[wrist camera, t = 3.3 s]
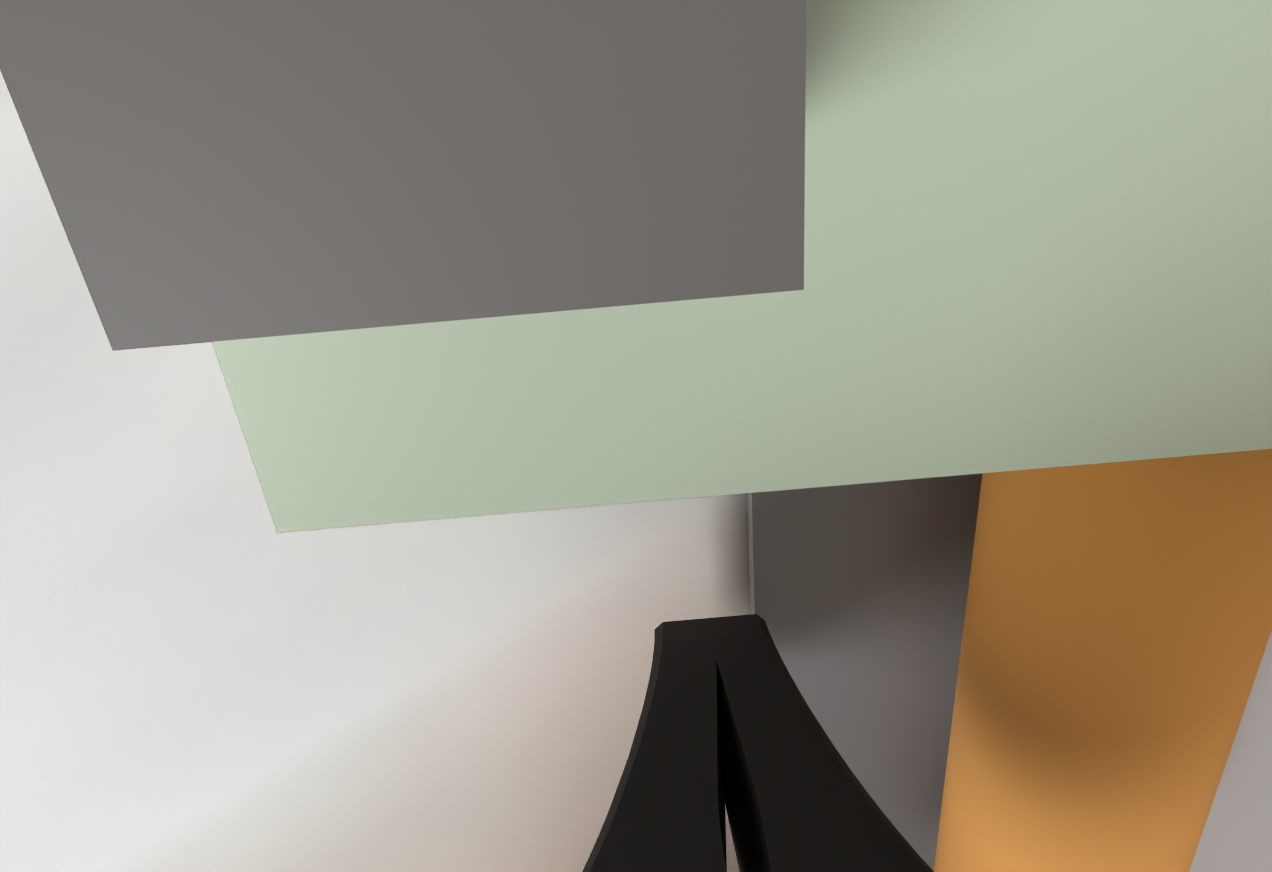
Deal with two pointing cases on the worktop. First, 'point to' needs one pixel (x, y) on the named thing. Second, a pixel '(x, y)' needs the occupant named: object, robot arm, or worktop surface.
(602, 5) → the cover
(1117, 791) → the cylinder
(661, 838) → the robot arm
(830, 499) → the large grey box
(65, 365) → the worktop surface
